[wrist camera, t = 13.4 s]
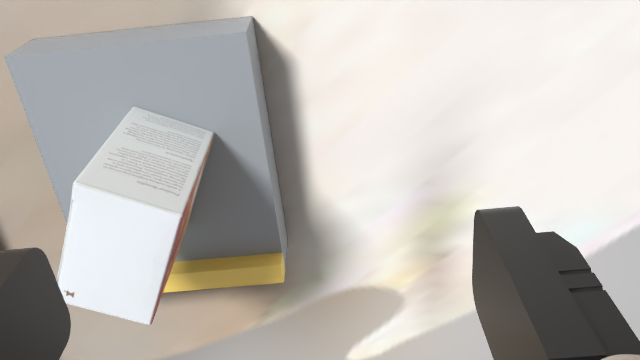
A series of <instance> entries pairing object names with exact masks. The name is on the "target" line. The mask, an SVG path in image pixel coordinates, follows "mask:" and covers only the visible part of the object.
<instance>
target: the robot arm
mask: <svg viewBox="0 0 640 360" xmlns="http://www.w3.org/2000/svg"><path fill="white" fill-rule="evenodd" d="M472 285H473V295H474V301H475V306H476V310H477V313H478V316H479V319H480V322H481V324H482V327H483V330H484V333H485V336H486V339H487V341H488V344H489V347H490V350H491V353H492V356H493V358H494V360H640V341H639V340H638V338H637V337H636V335H635V334H634V332H633V331H632V329H631V328H630V327H629V325H628V323H627V322H626V320H625V319H624V317H623V316H622V314H621V313H620V311H619V310H618V308H617V307H616V305H615V304H614V302H613V301H612V299H611V298H610V296H609V295H608V293H607V292H606V291H605V290H603V289H602V285H601V283H600V282H599V280H598V279H597V277H596V276H595V274H594V273H591V268H590V267H589V265H588V263H587V262H586V260H585V259H584V257H583V256H582V254H581V253H580V252H579V250H578V249H577V248H576V247H575V246H574V245H572V244H571V243H569V242H568V241H566V240H565V239H563V238H562V237H561V236H559V235H558V234H556V233H555V232H542V233H536V232H535V231H534V229H533V227H532V225H531V224H530V222H529V220H528V219H527V217H526V215H525V213H524V212H523V210H522V209H521V208H520V207H518V206H517V207H506V208H495V209H483V210H477V211H476V213H475V217H474V237H473V270H472ZM70 327H71V323H70V314H69V311H68V308H67V305H66V303H65V300H64V298H63V295H62V293H61V291H60V288H59V286H58V283H57V281H56V278H55V276H54V273H53V271H52V269H51V266H50V264H49V261H48V259H47V257H46V255H45V253H44V252H43V251H42V250H41V249H39V248H25V249H14V250H3V251H0V360H59V358H60V356H61V354H62V352H63V351H64V349H65V347H66V345H67V342H68V339H69V335H70Z"/></svg>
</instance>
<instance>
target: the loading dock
mask: <svg viewBox="0 0 640 360" xmlns="http://www.w3.org/2000/svg"><path fill="white" fill-rule="evenodd" d="M5 60H6V63H7V65H8V68H9V71H10V73H11V76H12V79H13V81H14V84H15V87H16V89H17V92H18V95H19V97H20V100H21V103H22V105H23V108H24V111H25V113H26V116H27V119H28V121H29V124H30V127H31V129H32V132H33V135H34V137H35V140H36V143H37V145H38V148H39V150H40V153H41V156H42V158H43V161H44V164H45V166H46V169H47V172H48V174H49V177H50V180H51V182H52V185H53V188H54V190H55V193H56V196H57V198H58V201H59V204H60V206H61V209H62V212H63V214H64V217H65V220H66V222H67V223H68V217H69V211H70V204H71V196H72V187H73V182H74V181H75V180H76V178H77V177H78V176H79V175H80V173H81V172H82V171H83V170H84V168H85V167H86V166H87V164H88V163H89V162H90V161H91V159H92V158H93V157H94V156H95V154H96V153H97V152H98V150H99V149H100V148H101V147H102V145H103V144H104V143H105V142H106V140H107V139H108V138H109V137H110V135H111V134H112V133H113V132H114V130H115V129H116V128H117V126H118V125H119V124H120V123H121V121H122V120H123V119H124V117H125V116H126V115H127V114H128V112H129V111H130V110H131V109H132V107H138V108H140V109H144V110H147V111H150V112H153V113H156V114H159V115H162V116H166V117H169V118H172V119H175V120H178V121H181V122H184V123H187V124H190V125H193V126H196V127H199V128H202V129H205V130H208V131H212V132H213V133H214V138H213V141H212V145H211V148H210V151H209V154H208V158H207V161H206V164H205V167H204V171H203V174H202V177H201V181H200V184H199V187H198V190H197V194H196V197H195V200H194V204H193V207H192V211H191V215H190V219H189V223H188V226H187V229H186V232H185V235H184V237H183V240H182V243H181V245H180V248H179V251H178V254H177V256H176V259H175V262H174V264H173V267H172V270H171V272H170V275H169V278H168V280H167V283H166V286H165V288H164V291H163V293H165V292H177V291H189V290H201V289H213V288H225V287H237V286H249V285H261V284H273V283H284V278H285V266H286V253H287V241H288V239H287V232H286V226H285V219H284V213H283V207H282V200H281V194H280V188H279V181H278V175H277V169H276V162H275V156H274V150H273V143H272V137H271V130H270V124H269V118H268V111H267V105H266V99H265V92H264V86H263V80H262V73H261V67H260V61H259V54H258V48H257V42H256V35H255V29H254V22H253V16H250V17H240V18H231V19H221V20H212V21H202V22H193V23H183V24H174V25H164V26H155V27H145V28H136V29H126V30H117V31H107V32H98V33H88V34H79V35H69V36H60V37H50V38H41V39H32V40H31V41H29V42H28V43H26V44H24V45H23V46H21V47H20V48H18V49H16V50H15V51H13V52H12V53H10V54H8V55H7V56H5Z"/></svg>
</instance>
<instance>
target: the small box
mask: <svg viewBox="0 0 640 360" xmlns="http://www.w3.org/2000/svg"><path fill="white" fill-rule="evenodd" d="M213 138H214V133H213V132H212V131H208V130H205V129H202V128H199V127H196V126H193V125H190V124H187V123H184V122H181V121H178V120H175V119H172V118H169V117H166V116H162V115H159V114H156V113H153V112H150V111H147V110H144V109H140V108H138V107H132V109H131V110H130V111H129V112H128V114H127V115H126V116H125V117H124V119H123V120H122V121H121V123H120V124H119V125H118V126H117V128H116V129H115V130H114V132H113V133H112V134H111V135H110V137H109V138H108V139H107V140H106V142H105V143H104V144H103V145H102V147H101V148H100V149H99V150H98V152H97V153H96V154H95V156H94V157H93V158H92V159H91V161H90V162H89V163H88V164H87V166H86V167H85V168H84V170H83V171H82V172H81V173H80V175H79V176H78V177H77V178H76V180H75V181H74V182H73V187H72V196H71V204H70V211H69V217H68V223H67V228H66V234H65V240H64V245H63V251H62V256H61V261H60V267H59V271H58V276H57V280H56V281H57V283H58V286H59V288H60V291H61V293H62V295H63V298H64V300H65V303H67V304H70V305H74V306H78V307H81V308H85V309H89V310H93V311H97V312H101V313H104V314H108V315H112V316H116V317H120V318H123V319H127V320H131V321H135V322H139V323H143V324H147V325H151V324H152V322H153V319H154V316H155V313H156V311H157V308H158V305H159V302H160V299H161V297H162V294H163V291H164V288H165V286H166V283H167V280H168V278H169V275H170V272H171V270H172V267H173V264H174V262H175V259H176V256H177V254H178V251H179V248H180V245H181V243H182V240H183V237H184V235H185V232H186V229H187V226H188V223H189V219H190V215H191V211H192V207H193V204H194V200H195V197H196V194H197V190H198V187H199V184H200V181H201V177H202V174H203V171H204V167H205V164H206V161H207V158H208V154H209V151H210V148H211V145H212V141H213Z"/></svg>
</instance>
